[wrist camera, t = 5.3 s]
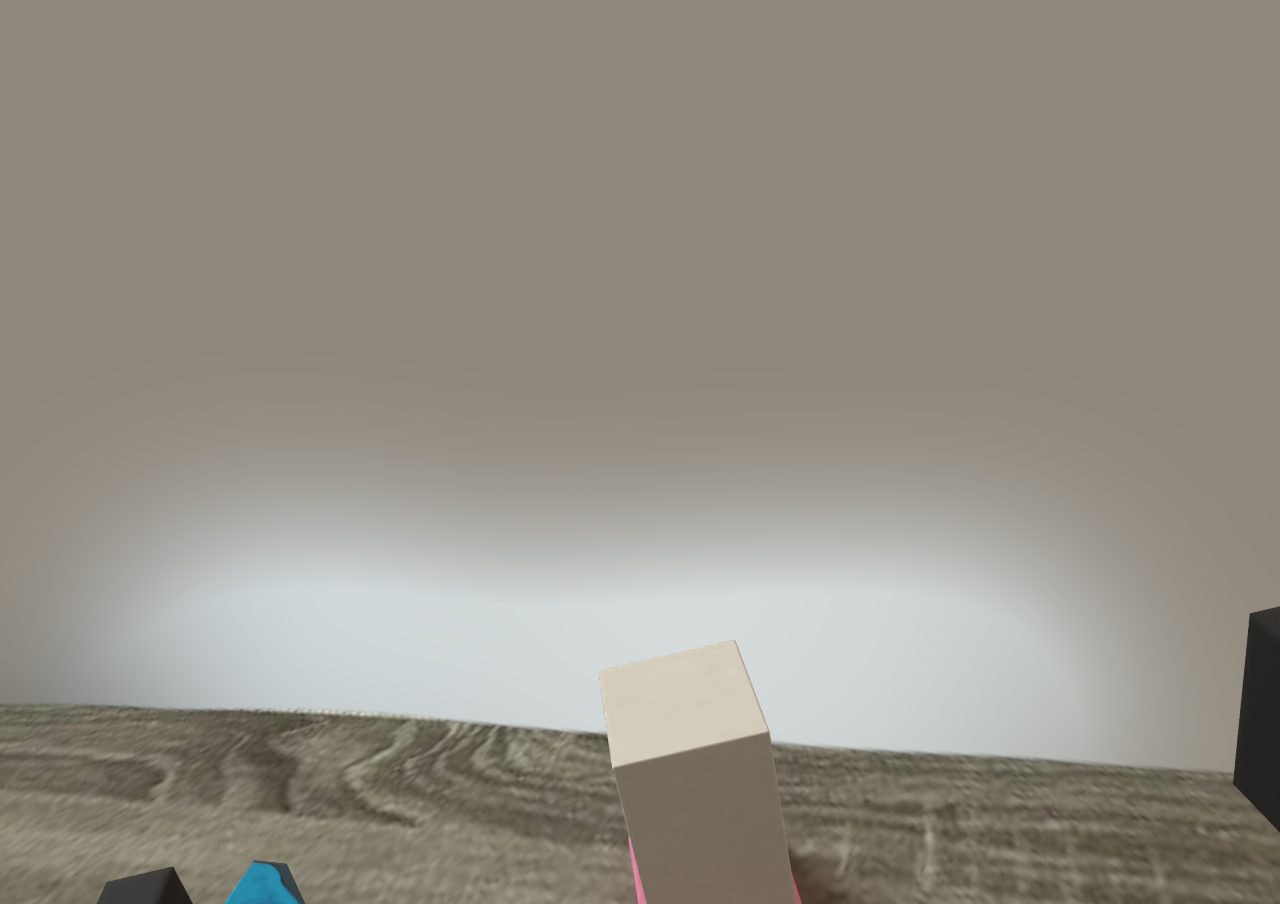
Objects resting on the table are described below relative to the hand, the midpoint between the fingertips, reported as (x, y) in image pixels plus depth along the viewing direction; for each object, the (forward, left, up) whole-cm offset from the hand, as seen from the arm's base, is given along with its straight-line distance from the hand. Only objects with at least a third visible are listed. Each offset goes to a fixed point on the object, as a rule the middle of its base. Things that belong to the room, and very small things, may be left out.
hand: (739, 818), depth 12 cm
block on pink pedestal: (-7, +6, -16) cm, 19 cm away
